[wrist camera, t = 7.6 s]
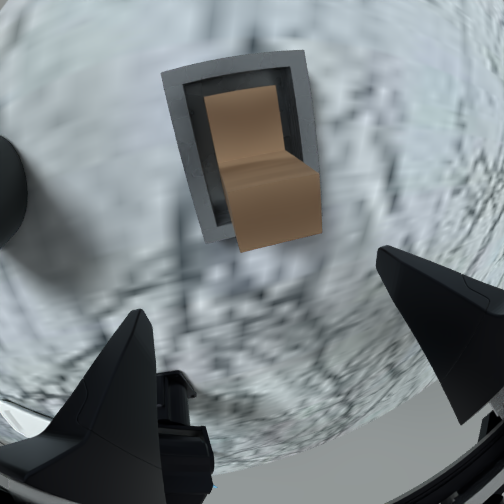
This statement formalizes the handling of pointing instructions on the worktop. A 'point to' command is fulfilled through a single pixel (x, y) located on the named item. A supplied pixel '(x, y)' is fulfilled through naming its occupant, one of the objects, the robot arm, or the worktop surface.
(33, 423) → the plate
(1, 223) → the mug
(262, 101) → the tan toy chair
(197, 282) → the worktop surface
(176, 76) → the grey rectangular tray
